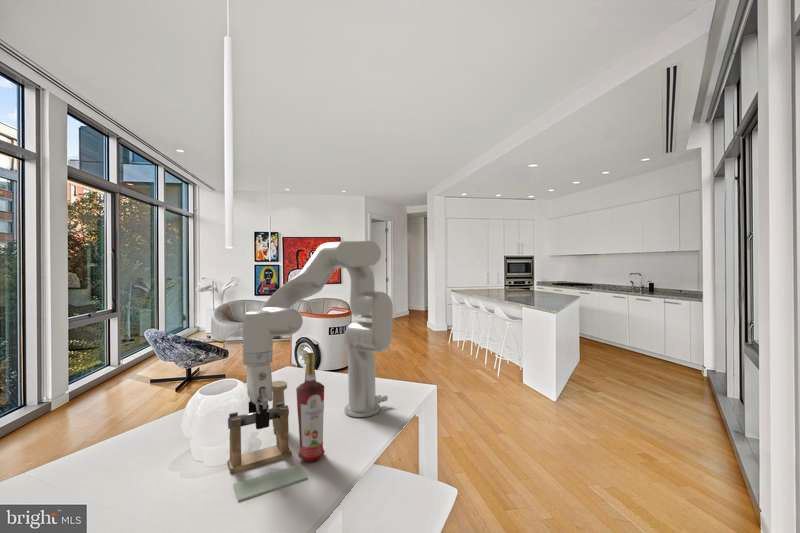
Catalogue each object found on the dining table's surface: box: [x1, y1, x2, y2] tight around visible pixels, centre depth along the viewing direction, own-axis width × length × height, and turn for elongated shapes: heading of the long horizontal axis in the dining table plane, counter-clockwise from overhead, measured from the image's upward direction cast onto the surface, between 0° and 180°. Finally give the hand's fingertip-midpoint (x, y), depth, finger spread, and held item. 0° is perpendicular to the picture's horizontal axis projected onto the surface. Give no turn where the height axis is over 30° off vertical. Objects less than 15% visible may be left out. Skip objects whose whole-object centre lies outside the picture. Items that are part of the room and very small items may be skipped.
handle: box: [271, 380, 288, 434], centre depth 114 cm, size 5×6×15 cm
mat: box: [233, 463, 308, 503], centre depth 87 cm, size 16×7×1 cm, turn 122°
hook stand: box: [226, 402, 293, 475], centre depth 97 cm, size 15×6×13 cm, turn 122°
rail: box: [227, 405, 290, 430], centre depth 97 cm, size 15×3×3 cm, turn 122°
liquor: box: [296, 352, 325, 463], centre depth 97 cm, size 7×7×28 cm
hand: (258, 421), depth 97 cm, fingers open, 9 cm apart
